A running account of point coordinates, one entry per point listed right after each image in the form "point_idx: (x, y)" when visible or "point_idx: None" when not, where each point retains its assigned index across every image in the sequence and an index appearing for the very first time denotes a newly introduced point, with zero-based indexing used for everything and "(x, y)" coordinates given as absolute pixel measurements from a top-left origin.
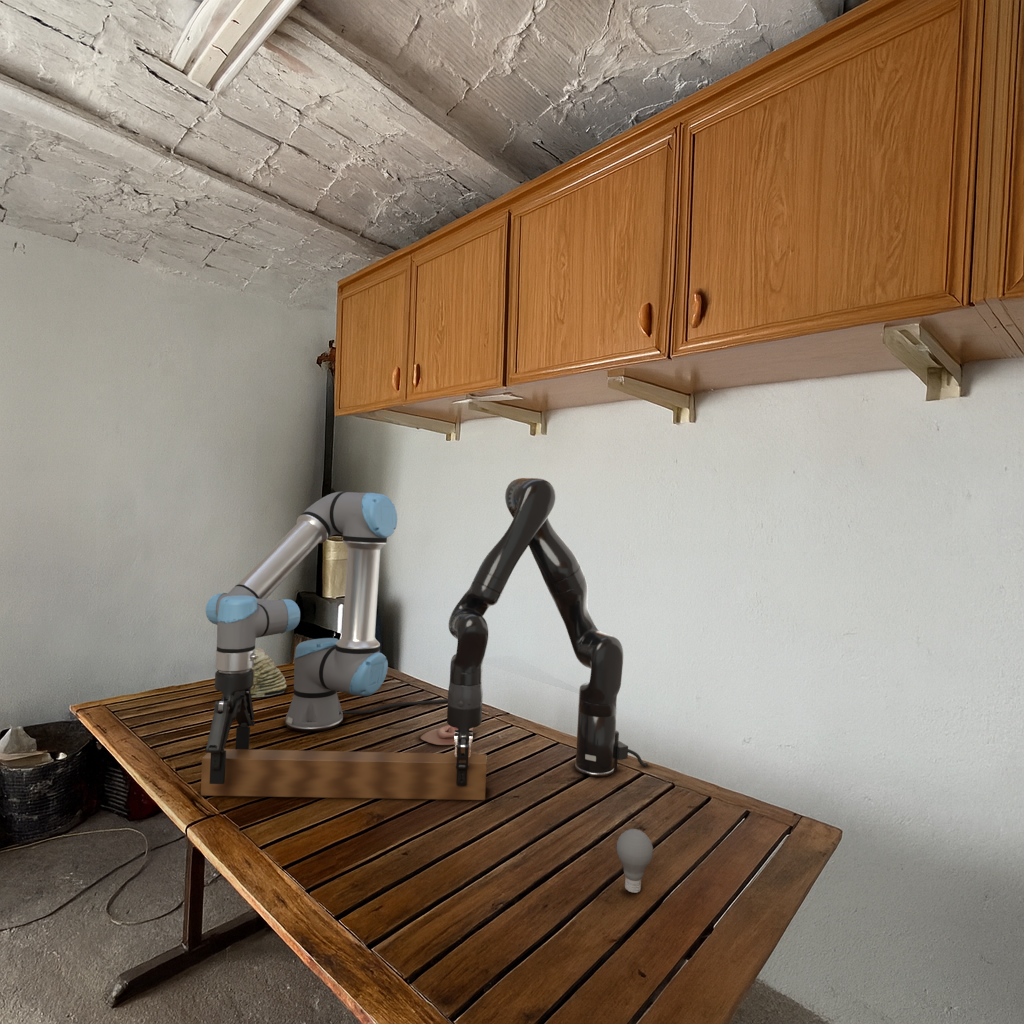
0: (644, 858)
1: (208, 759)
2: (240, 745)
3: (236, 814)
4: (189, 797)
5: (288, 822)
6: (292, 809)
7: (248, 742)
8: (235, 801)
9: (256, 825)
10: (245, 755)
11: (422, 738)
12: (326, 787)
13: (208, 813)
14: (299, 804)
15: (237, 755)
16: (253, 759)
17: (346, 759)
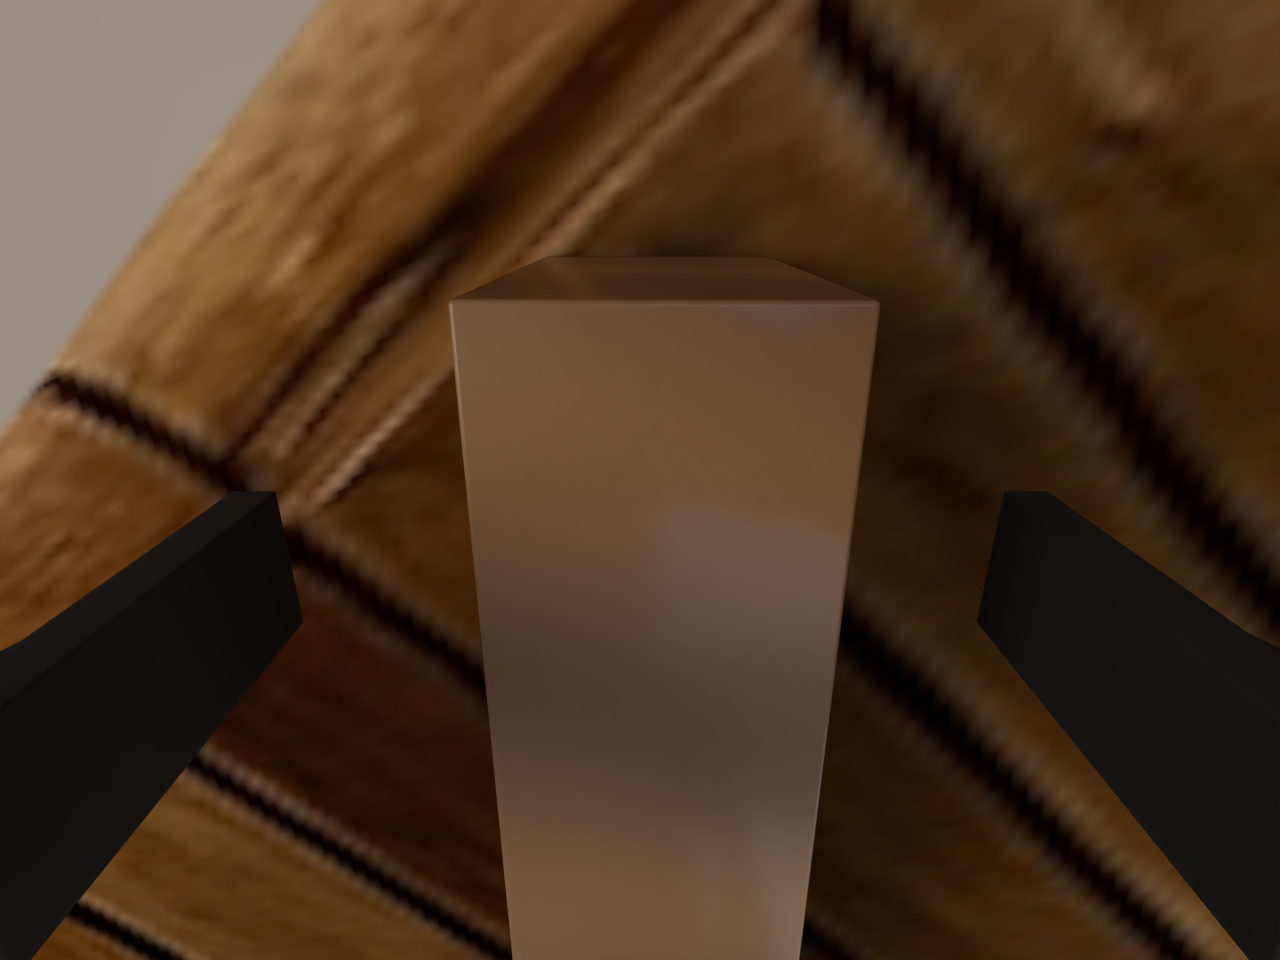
0: None
1: (459, 408)
2: (1079, 626)
3: (292, 638)
4: (503, 161)
5: (269, 914)
6: (419, 901)
7: (1093, 746)
8: None
9: (191, 783)
10: (604, 840)
11: None
12: None
13: (260, 450)
14: (485, 919)
15: (602, 756)
16: (511, 929)
17: None
